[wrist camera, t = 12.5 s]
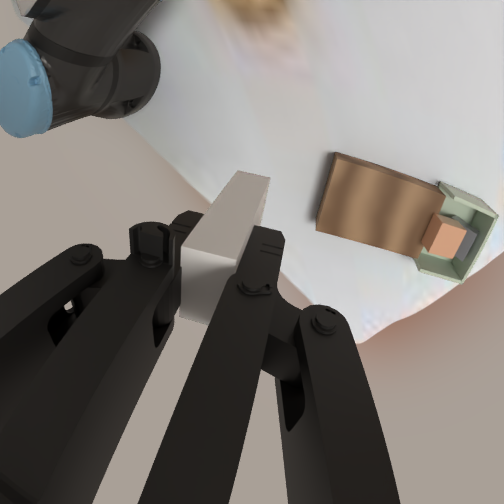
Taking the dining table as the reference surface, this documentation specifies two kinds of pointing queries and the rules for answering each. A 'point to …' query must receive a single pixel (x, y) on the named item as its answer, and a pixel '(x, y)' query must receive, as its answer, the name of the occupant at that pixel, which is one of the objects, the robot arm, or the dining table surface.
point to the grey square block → (465, 239)
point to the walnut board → (377, 206)
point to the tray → (473, 214)
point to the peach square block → (443, 236)
